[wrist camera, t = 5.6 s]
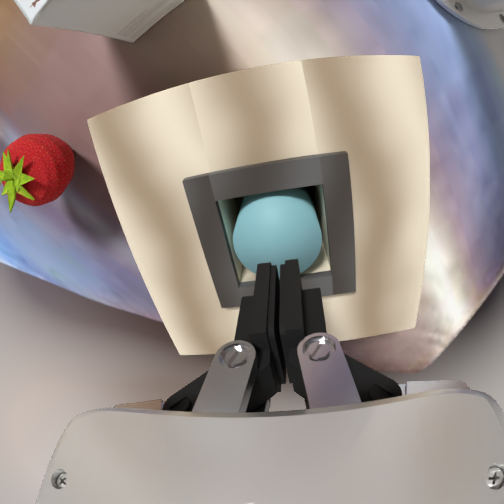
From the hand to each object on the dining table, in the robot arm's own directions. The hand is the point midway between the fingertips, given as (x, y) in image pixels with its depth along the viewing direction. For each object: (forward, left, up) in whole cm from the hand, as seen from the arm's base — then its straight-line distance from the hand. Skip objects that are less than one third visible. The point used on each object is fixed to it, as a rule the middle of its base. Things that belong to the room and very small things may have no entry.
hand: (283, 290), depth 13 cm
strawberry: (+18, -8, -14) cm, 24 cm away
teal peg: (0, 0, -12) cm, 12 cm away
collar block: (0, 0, -14) cm, 14 cm away
